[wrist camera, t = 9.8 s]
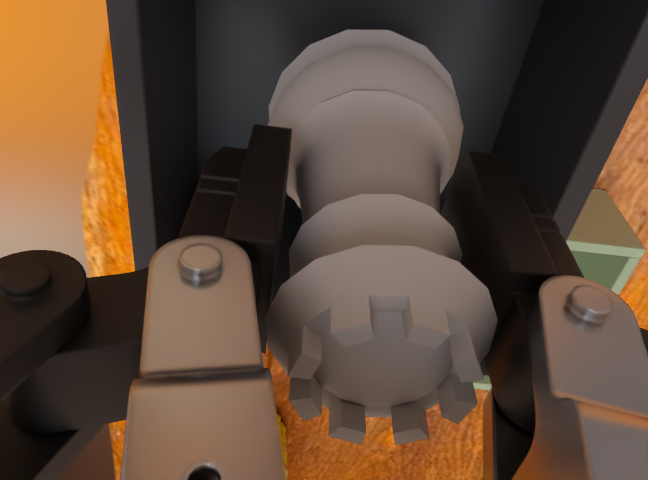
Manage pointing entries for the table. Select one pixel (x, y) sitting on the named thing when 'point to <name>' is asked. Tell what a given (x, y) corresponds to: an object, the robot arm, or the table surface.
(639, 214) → the table surface
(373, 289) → the rook chess piece
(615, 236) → the sage bin
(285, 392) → the table surface
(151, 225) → the charcoal bin
